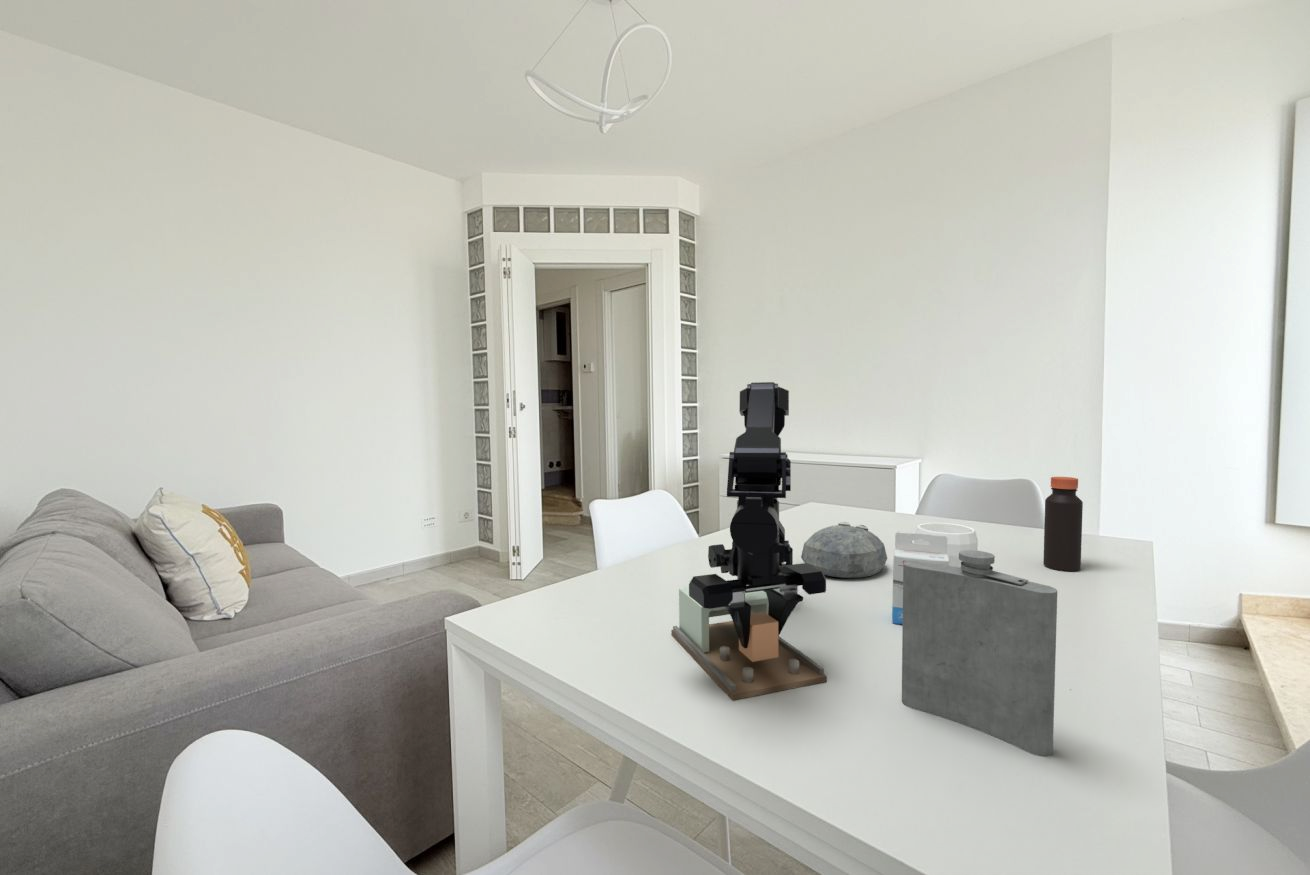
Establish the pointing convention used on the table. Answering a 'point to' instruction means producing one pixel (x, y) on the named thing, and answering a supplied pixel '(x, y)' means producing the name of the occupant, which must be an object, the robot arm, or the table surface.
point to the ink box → (913, 552)
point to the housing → (710, 615)
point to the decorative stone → (845, 551)
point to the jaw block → (761, 638)
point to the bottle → (1063, 525)
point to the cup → (950, 538)
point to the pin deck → (750, 664)
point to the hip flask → (981, 649)
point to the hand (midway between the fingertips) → (758, 644)
